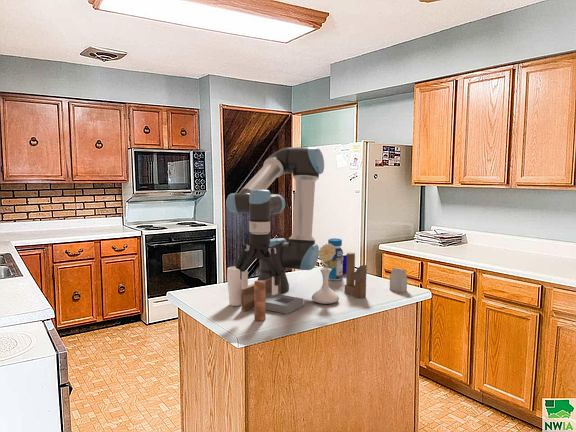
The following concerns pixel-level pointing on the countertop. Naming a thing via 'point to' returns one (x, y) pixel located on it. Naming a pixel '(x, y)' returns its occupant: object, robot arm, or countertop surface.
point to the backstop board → (248, 294)
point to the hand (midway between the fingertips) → (259, 291)
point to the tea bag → (398, 280)
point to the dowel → (259, 300)
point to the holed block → (282, 303)
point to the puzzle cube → (343, 264)
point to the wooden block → (355, 278)
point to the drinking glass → (234, 286)
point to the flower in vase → (326, 276)
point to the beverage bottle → (336, 260)
